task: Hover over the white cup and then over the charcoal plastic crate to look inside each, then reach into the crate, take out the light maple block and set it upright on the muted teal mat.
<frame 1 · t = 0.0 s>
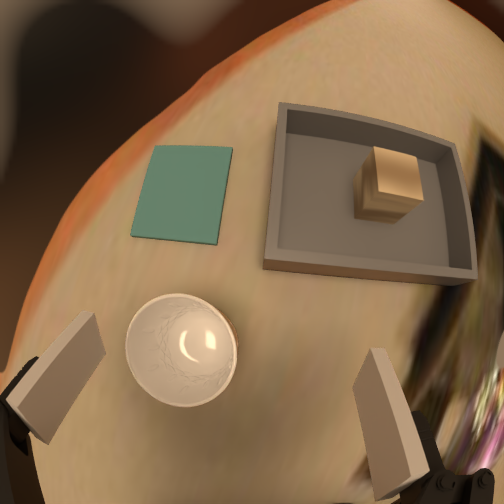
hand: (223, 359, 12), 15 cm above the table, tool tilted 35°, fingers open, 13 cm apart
maple block: (373, 201, 29), resting on crate
white cup: (205, 341, 27), on the table
crate: (371, 203, 30), on the table
teal mat: (182, 190, 30), on the table
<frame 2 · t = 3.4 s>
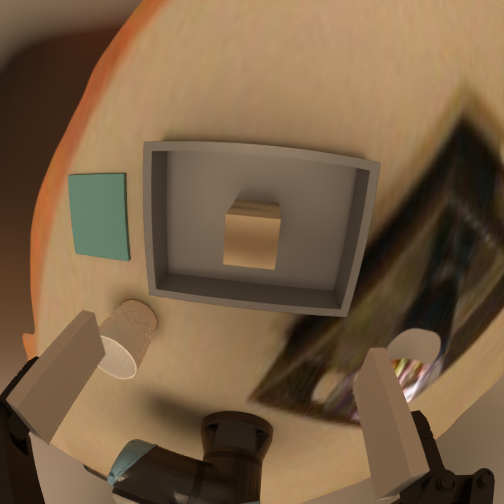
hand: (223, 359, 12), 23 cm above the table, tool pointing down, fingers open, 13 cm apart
maple block: (255, 222, 32), resting on crate
white cup: (138, 316, 40), on the table
crate: (255, 221, 33), on the table
teal mat: (98, 216, 34), on the table
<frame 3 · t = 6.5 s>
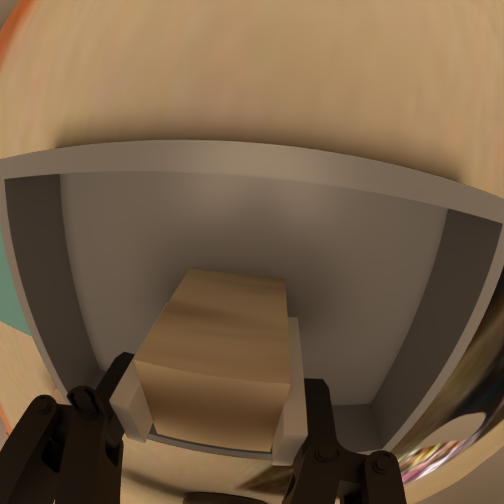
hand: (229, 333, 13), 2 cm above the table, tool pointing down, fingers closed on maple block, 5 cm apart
maple block: (234, 313, 15), point 1 cm above the table, touching crate, gripper
crate: (235, 308, 16), on the table
teal mat: (1, 272, 17), on the table
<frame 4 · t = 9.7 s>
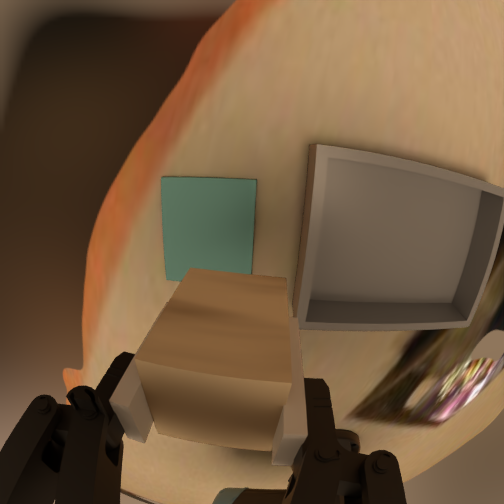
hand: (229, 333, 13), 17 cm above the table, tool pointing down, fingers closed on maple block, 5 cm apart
maple block: (234, 312, 15), point 15 cm above the table, touching gripper
crate: (402, 240, 28), on the table
teal mat: (207, 232, 30), on the table
when the fingers open (4 cm above the table, at t = 13.2 s): maple block drops 1 cm, resting on teal mat.
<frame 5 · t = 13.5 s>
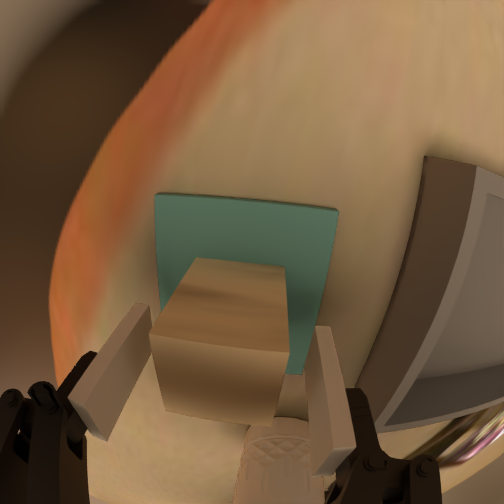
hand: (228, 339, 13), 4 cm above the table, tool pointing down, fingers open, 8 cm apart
maple block: (237, 299, 16), point 1 cm above the table, touching teal mat
white cup: (280, 431, 23), on the table
crate: (499, 299, 16), on the table
teal mat: (238, 295, 17), on the table
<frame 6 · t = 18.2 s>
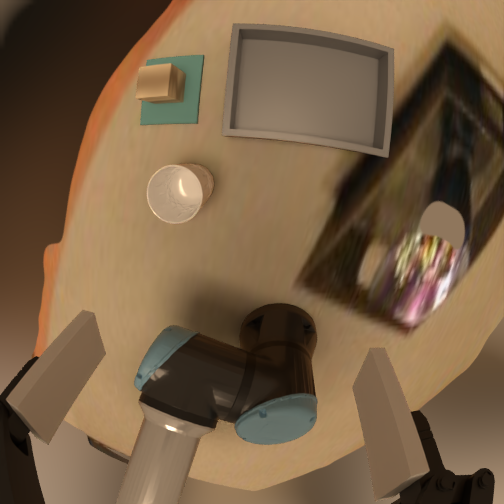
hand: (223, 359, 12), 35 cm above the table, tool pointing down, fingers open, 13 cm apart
maple block: (170, 88, 37), point 1 cm above the table, touching teal mat
white cup: (194, 183, 44), on the table
crate: (309, 89, 36), on the table
teal mat: (171, 89, 38), on the table
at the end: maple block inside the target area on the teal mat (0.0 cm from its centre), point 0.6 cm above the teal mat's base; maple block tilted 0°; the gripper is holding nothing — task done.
